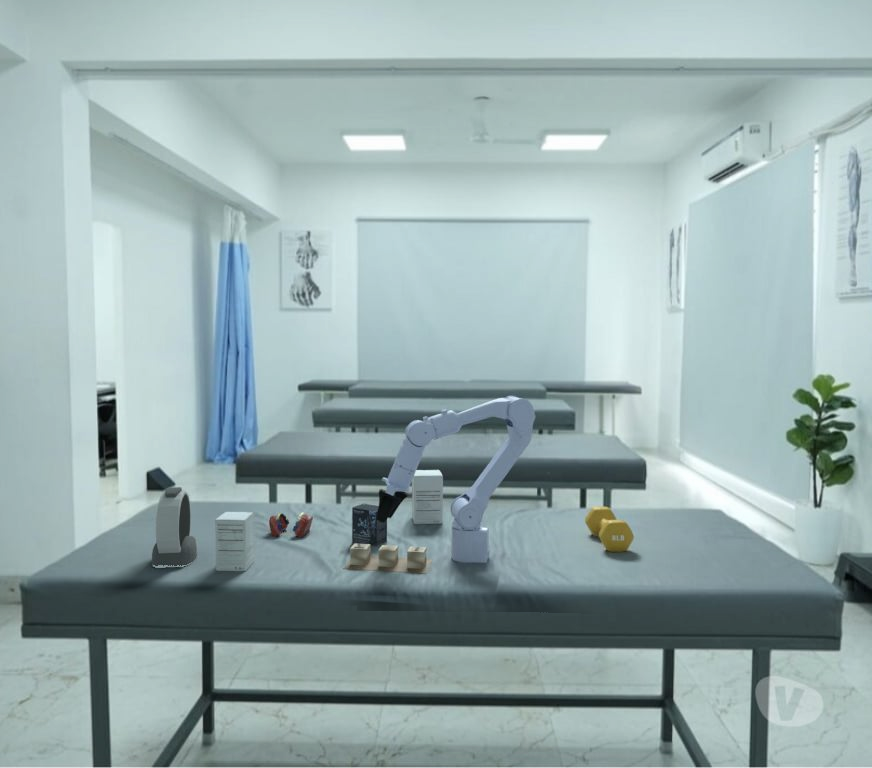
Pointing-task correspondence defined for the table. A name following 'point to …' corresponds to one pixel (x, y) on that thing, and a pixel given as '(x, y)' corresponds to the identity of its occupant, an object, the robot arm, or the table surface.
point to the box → (368, 526)
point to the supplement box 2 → (427, 497)
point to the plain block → (388, 555)
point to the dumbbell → (609, 529)
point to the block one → (416, 557)
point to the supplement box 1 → (234, 541)
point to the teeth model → (282, 522)
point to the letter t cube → (360, 554)
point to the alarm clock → (174, 530)
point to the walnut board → (399, 567)
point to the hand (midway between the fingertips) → (383, 518)
